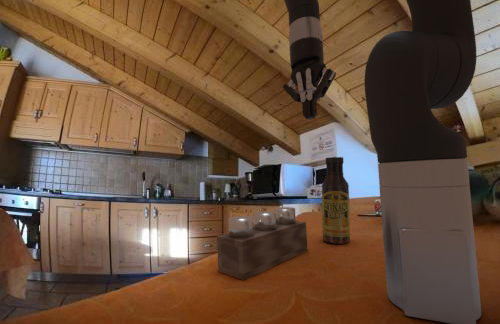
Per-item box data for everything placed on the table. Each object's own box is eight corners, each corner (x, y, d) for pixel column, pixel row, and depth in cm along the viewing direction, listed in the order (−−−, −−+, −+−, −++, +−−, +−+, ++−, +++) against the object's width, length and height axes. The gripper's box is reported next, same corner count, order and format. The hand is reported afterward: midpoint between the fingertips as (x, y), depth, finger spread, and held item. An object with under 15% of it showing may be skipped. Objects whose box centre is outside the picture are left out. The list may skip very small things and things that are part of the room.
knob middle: (273, 253, 46) (271, 215, 46) (251, 251, 48) (249, 214, 48) (281, 247, 50) (279, 211, 50) (260, 245, 52) (259, 211, 52)
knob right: (293, 245, 50) (291, 210, 51) (273, 243, 52) (271, 209, 53) (299, 239, 54) (297, 207, 55) (279, 238, 56) (278, 207, 57)
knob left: (248, 263, 41) (246, 220, 41) (225, 261, 43) (223, 219, 43) (259, 255, 45) (257, 216, 45) (237, 253, 47) (236, 215, 47)
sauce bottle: (322, 244, 57) (317, 157, 58) (323, 237, 63) (318, 158, 64) (353, 245, 55) (347, 155, 56) (351, 238, 61) (345, 157, 62)
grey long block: (283, 245, 58) (281, 219, 58) (307, 250, 53) (305, 221, 53) (218, 270, 44) (216, 236, 44) (243, 280, 39) (242, 241, 40)
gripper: (273, 50, 60) (277, 121, 59) (324, 25, 51) (330, 109, 50) (290, 59, 65) (294, 125, 64) (340, 39, 56) (345, 115, 55)
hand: (310, 118), depth 57 cm, fingers closed
